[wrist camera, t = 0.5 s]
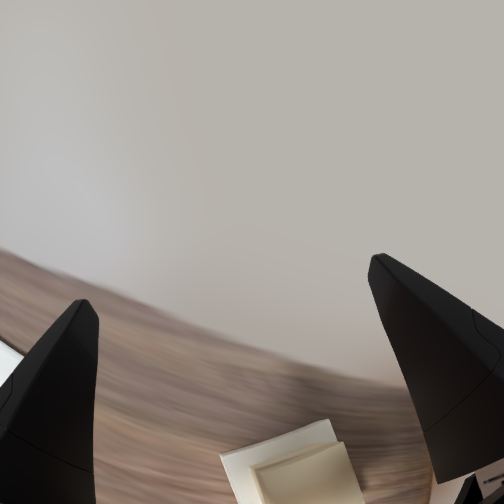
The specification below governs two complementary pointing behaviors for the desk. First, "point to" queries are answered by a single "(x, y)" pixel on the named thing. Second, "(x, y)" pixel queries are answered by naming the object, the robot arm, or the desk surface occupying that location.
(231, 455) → the base slab
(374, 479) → the desk surface
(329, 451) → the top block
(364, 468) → the desk surface
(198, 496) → the desk surface
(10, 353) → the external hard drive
